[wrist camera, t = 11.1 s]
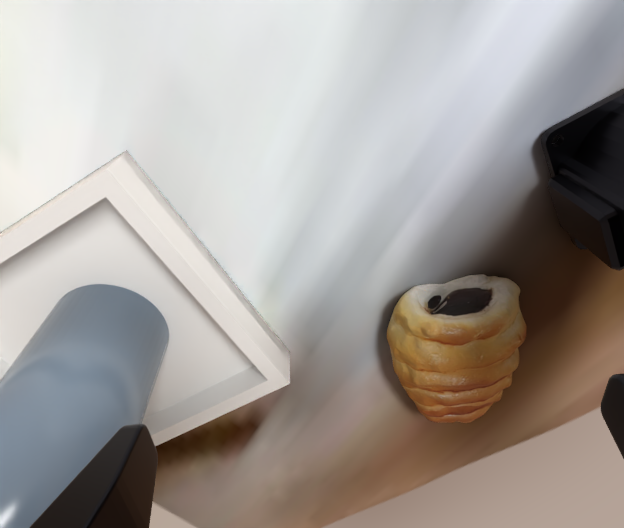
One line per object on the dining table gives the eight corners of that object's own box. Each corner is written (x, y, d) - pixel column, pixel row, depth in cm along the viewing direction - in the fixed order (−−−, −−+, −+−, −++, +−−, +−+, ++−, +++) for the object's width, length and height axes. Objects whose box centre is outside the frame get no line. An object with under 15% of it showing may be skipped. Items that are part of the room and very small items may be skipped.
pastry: (502, 391, 28) (531, 445, 24) (392, 408, 28) (406, 463, 25) (510, 261, 23) (547, 305, 20) (378, 283, 23) (393, 330, 20)
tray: (126, 150, 19) (106, 169, 17) (289, 351, 25) (290, 383, 23) (-85, 288, 22) (-124, 319, 20) (107, 439, 28) (93, 475, 26)
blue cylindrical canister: (116, 259, 20) (-116, 626, 9) (197, 346, 23) (105, 711, 11) (19, 315, 22) (-297, 699, 10) (107, 390, 25) (-59, 759, 13)
